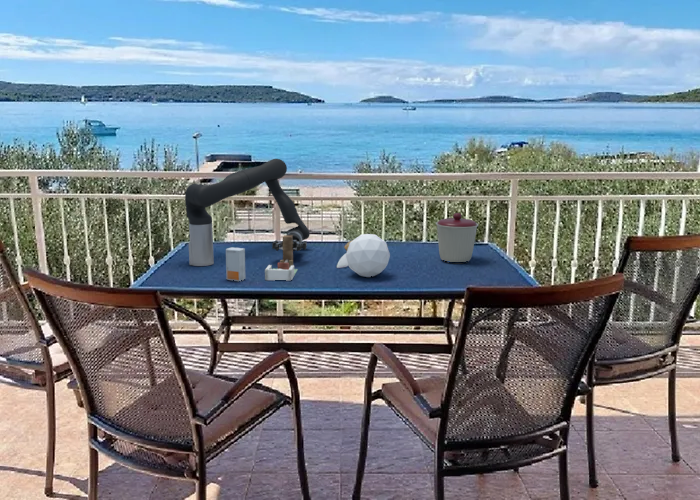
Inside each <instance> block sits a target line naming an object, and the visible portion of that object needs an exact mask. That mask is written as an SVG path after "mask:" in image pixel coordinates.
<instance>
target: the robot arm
mask: <svg viewBox="0 0 700 500" xmlns="http://www.w3.org/2000/svg"><path fill="white" fill-rule="evenodd" d="M287 170H288V168H287V163H286V162H285V161H284V160H282V159H281V158H271V160H268V161H266V162H264V163H262V164H261V165H258V166H252V167H249V168H245V169H242V170H239V171H238V170H237V171H235V172H232V173H230V174H227V176H226V177H225V178H224V179H223V180H221V181H219V182H216V183H212V184H201V183H200V184H199V183H192V184H190V185H189V186H187V188H186V190H185V194H184V195H185V196H184V199H185V202H184V203H185V212H186V217H187V219H188V227H189V242H188V258H189V260H188V262H189V266H195V267H205V266H206V267H207V266H211V265H214V263H215V262H214V258H215V257H214V239H213V218H212V216H211V215H210V214H209V212H207V210H206V208H209V207H211V206H213V205H215V204H216V203H219V202H220V201H223V200H224V199H227V198H230V197H231V198H232V197H234V196H236V195H239V194H243V193H246V192H248V191H250V190H253V189H254V188H256V187H258V186H260V185H261V184H264V183H265V184H266V187H267V188H268V190H269V191H270V193H271V195H272V197H273V198H274V201H275V202H276V203H277V206H278V208H279V211H280V213H281V215H282V218H283V221H284V223H285V224H287V225H289V224H296V225H297V226H295V227H292V228H290V229H288V230H287V231H286V235H293V252H299V251H302V250H303V251H304V250H307V248H308V247H307V244H308V243H307V239H309V238H310V230H309V228H308V226H307V225H306V224H305V223H304V221H303V219H302V218H301V217H300V215H299V213H298V210H297V207H296V205H295V203H294V202H293V200H292V199H291V197H289V195H288V194H287V193H286V192H285V191H284V190H283V188H282V187H281V185H280V183H279V180H280V179H282V178H283V177H284V176H285V175H286V174H287ZM271 247H272V248H271V249H272V250H275V251H277V252H278V251H279V250H282V251H283V240H280V241H278V240H274V241H273V242H272V243H271Z"/></svg>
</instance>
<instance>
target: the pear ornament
mask: <svg viewBox="0 0 700 500" xmlns="http://www.w3.org/2000/svg"><path fill="white" fill-rule="evenodd" d="M352 240H353V241H352ZM352 240H350V241H351V242H350V244H349V247H348V250H347V251H346V253H344V254H343V255H342V256H341V257H340V258H339V260H338V262H337V264H336V268H337V269H342V268H347V267H349V269H350V270H352V271H353V272H354V273H355V274H357V275H359V276H360V277H366V278H371V276H372V277H376V276H378V275H379V274H380V273H382V272H383V271H384V270H385V269H386V268H387V266H388V264H389V261H390V257H391V253H390V252H389V251H390V250H389V248H388V247H389V246H388V245H387V244H388V243H387V242H386V240H383V239H382V238H381V237H379V236H378V235H377V234H372V233H362V234H359V236H357V237H355V238H354V239H352Z"/></svg>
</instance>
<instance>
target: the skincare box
mask: <svg viewBox="0 0 700 500" xmlns="http://www.w3.org/2000/svg"><path fill="white" fill-rule="evenodd" d="M225 269H226V270H225V271H226V274H225V275H226V277H225V278H226V280H227V281H233V280H234V281H233V282H239V281H240V282H242V281H245V280H246V248H241V247H228V248H225ZM244 279H245V280H244ZM241 280H242V281H241Z"/></svg>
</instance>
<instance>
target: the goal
mask: <svg viewBox="0 0 700 500" xmlns="http://www.w3.org/2000/svg"><path fill="white" fill-rule="evenodd" d="M294 269H295V265H293V266H291V267H290V268H289V270H279V269H278V268H274V269H273V265H272V264H268V265H267V267H266V268H265V269H264V281H275V280H286V281H285V282H289V281H290V282H291V280H292V281H293V278H294V277H295V275H294Z"/></svg>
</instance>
